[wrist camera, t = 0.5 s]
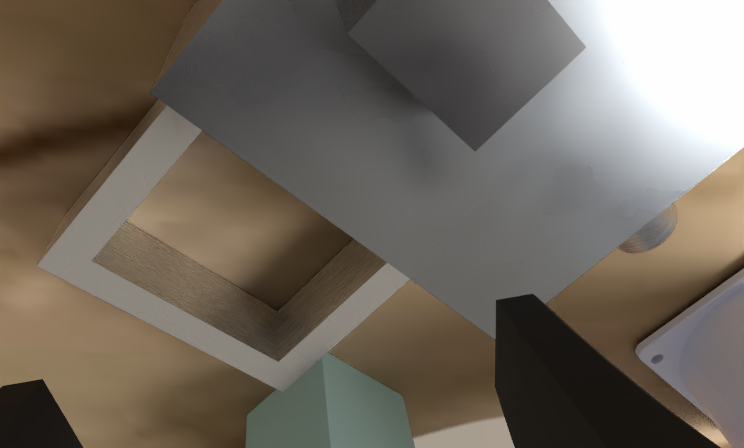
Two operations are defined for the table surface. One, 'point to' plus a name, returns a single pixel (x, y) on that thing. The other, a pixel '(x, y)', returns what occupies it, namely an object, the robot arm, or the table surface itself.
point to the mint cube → (330, 412)
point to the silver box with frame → (417, 154)
